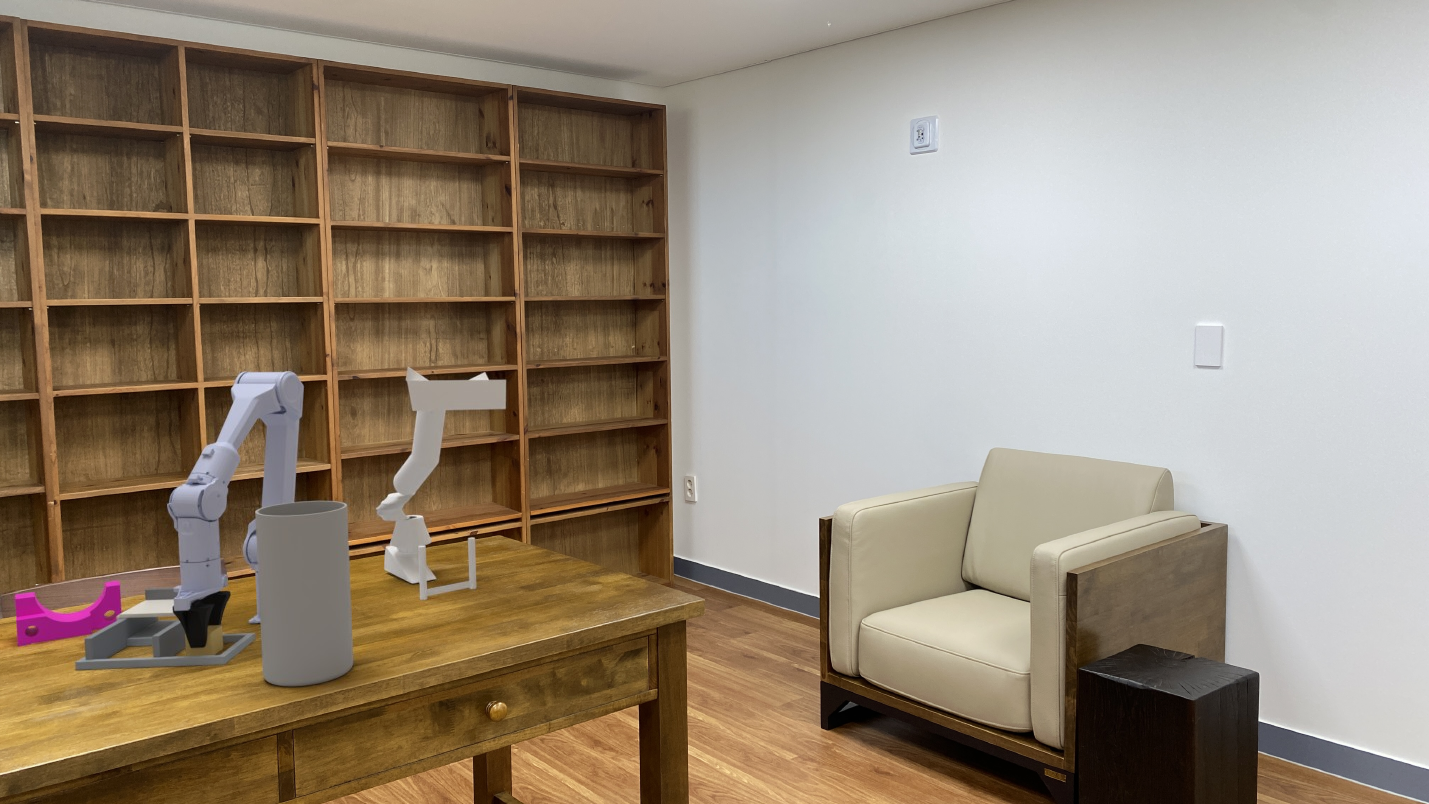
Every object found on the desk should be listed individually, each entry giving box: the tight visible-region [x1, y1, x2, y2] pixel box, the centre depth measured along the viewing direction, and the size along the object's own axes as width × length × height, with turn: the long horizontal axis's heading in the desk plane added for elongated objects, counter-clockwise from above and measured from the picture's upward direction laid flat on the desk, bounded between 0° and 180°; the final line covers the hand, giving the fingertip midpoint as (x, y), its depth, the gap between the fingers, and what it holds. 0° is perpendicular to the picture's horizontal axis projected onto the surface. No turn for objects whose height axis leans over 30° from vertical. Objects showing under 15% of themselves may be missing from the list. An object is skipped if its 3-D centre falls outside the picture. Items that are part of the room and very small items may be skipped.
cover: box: [117, 586, 178, 621], centre depth 165 cm, size 12×10×3 cm
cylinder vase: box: [254, 500, 354, 687], centre depth 145 cm, size 12×12×25 cm
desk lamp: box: [375, 366, 507, 601], centre depth 188 cm, size 38×18×45 cm, turn 42°
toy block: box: [14, 580, 123, 647], centre depth 167 cm, size 15×6×8 cm, turn 125°
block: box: [185, 624, 224, 656], centre depth 156 cm, size 4×4×4 cm
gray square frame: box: [74, 617, 256, 671], centre depth 160 cm, size 22×22×4 cm
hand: (204, 642), depth 156 cm, fingers open, 4 cm apart
